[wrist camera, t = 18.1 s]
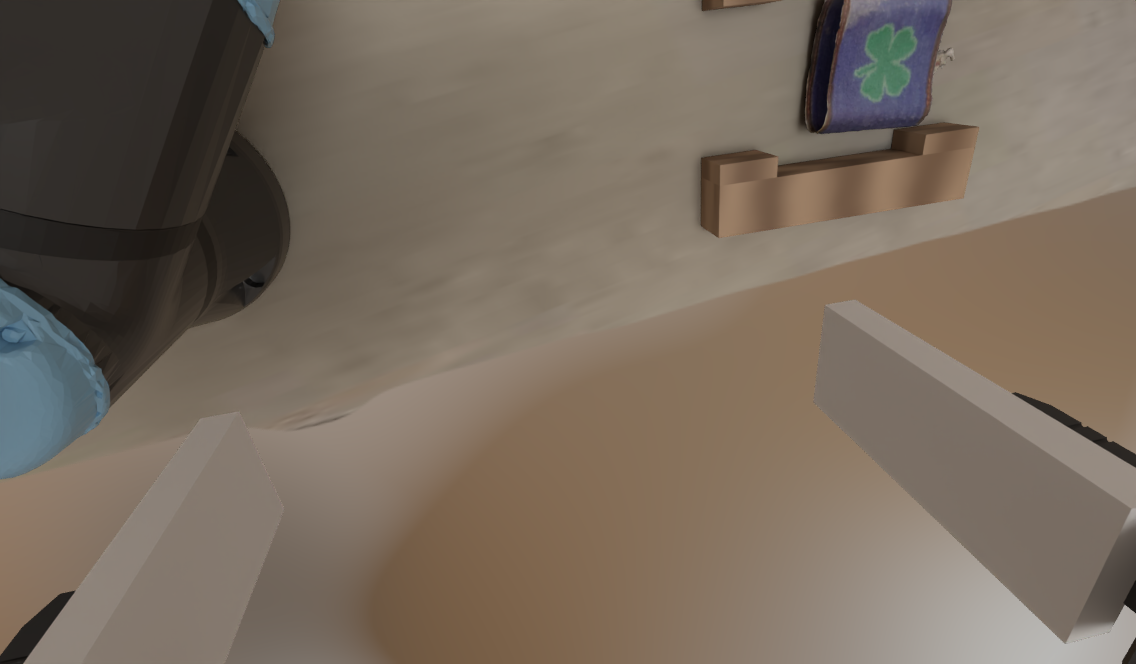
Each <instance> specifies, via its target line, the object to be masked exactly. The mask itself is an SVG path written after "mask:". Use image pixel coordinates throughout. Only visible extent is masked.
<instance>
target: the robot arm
mask: <svg viewBox="0 0 1136 664" xmlns="http://www.w3.org/2000/svg"><path fill="white" fill-rule="evenodd" d="M279 2H280V0H0V479H6V478H13V477H16V476H19V475H22V474H24V473H27V472H29V471H31V470H33V469H35V468H37V467H39V466H41V465H43V464H44V463H46V462H47V461H49V460H50V459H52V458H53V457H54V456H56V455H57V454H58V453H59V452H61V451H62V450H63V449H64V448H66V447H67V446H68V445H69V444H71V443H72V442H73V441H74V440H76V439H77V438H79V437H80V436H82V435H84V434H87V433H88V432H89V431H90V430H92V429H94V428H95V427H96V426H98V425H99V423H100V421H101V419H102V418H103V417H104V416H105V415H106V414H107V412H108V410H109V408H110V407H111V406H112V405H113V404H114V403H115V402H116V401H117V400H118V399H119V398H120V397H121V396H122V395H123V394H124V393H125V392H126V391H127V390H128V389H129V388H130V387H131V386H132V385H133V384H134V383H135V382H136V381H137V380H138V379H139V378H140V377H141V376H142V375H143V374H144V373H145V372H146V371H147V369H148V368H149V367H150V366H151V365H152V364H153V363H154V362H155V361H156V360H157V359H158V358H159V357H160V356H161V355H162V354H163V353H164V352H165V351H166V350H167V349H168V348H169V347H170V346H171V345H172V344H173V343H174V342H175V341H176V340H177V339H178V338H179V337H180V336H181V335H182V334H183V333H184V332H185V331H186V330H187V329H188V328H192V327H195V326H199V325H203V324H207V323H211V322H214V321H218V320H221V319H224V318H226V317H229V316H231V315H233V314H235V313H237V312H239V311H240V310H242V309H244V308H245V307H247V306H248V305H250V304H251V303H252V302H254V301H255V300H256V299H257V298H258V297H259V296H260V295H261V294H262V293H263V292H264V291H265V290H266V288H267V287H268V286H269V285H270V284H271V283H272V281H273V280H274V279H275V277H276V276H277V274H278V273H279V271H280V269H281V267H282V265H283V263H284V261H285V258H286V255H287V251H288V247H289V240H290V221H289V214H288V209H287V205H286V202H285V198H284V196H283V193H282V191H281V188H280V186H279V184H278V182H277V180H276V178H275V176H274V175H273V173H272V171H271V170H270V168H269V167H268V165H267V164H266V163H265V161H264V160H263V159H262V157H261V156H260V155H259V154H258V153H257V151H256V150H255V149H254V148H253V147H252V146H251V145H250V144H249V143H248V142H247V141H246V140H245V139H244V138H243V137H241V136H240V135H239V134H238V133H237V132H235V128H236V126H237V123H238V120H239V117H240V114H241V112H242V109H243V106H244V103H245V100H246V98H247V95H248V92H249V89H250V86H251V84H252V81H253V78H254V75H255V72H256V70H257V67H258V64H259V61H260V58H261V56H262V53H263V50H264V47H267V48H271V46H272V45H273V42H274V37H275V34H274V30H273V27H272V25H273V22H274V18H275V15H276V12H277V8H278V5H279ZM814 403H815V404H816V405H817V406H818V407H819V408H820V409H821V410H822V411H823V412H824V413H825V414H826V415H827V416H828V417H829V418H830V419H831V420H832V421H834V423H836V424H837V425H838V426H839V427H840V428H841V429H842V430H843V431H844V432H845V433H846V434H847V435H848V436H849V437H850V438H851V439H852V440H853V441H855V443H856V444H857V445H858V446H860V447H861V448H862V449H863V450H864V451H865V452H866V453H867V454H868V455H869V456H870V457H871V458H872V459H873V460H874V461H875V462H876V463H877V464H878V465H879V466H880V467H881V468H882V469H883V470H885V471H886V472H887V473H888V474H889V475H890V476H891V477H892V478H893V479H894V480H895V481H896V482H897V483H898V484H899V485H900V486H901V487H902V488H903V489H904V490H905V491H906V492H907V493H908V494H910V495H911V496H912V497H913V498H914V499H915V500H916V501H917V502H918V503H919V504H920V505H921V506H922V507H923V508H924V509H925V510H926V511H927V512H928V513H929V514H930V515H931V516H933V517H934V518H935V519H936V520H937V521H938V522H939V523H940V524H941V525H942V526H943V527H944V528H945V529H946V530H947V531H948V532H949V533H950V534H951V535H952V536H953V537H954V538H955V539H957V541H959V542H960V543H961V544H962V545H963V546H964V547H965V548H966V549H967V550H968V551H969V552H970V553H971V554H972V555H973V556H974V557H975V558H976V559H977V560H978V561H979V562H980V563H981V564H982V565H984V566H985V567H986V568H987V569H988V570H989V571H990V572H991V573H992V574H993V575H994V576H995V577H996V578H997V579H998V580H999V581H1000V582H1001V583H1002V584H1003V585H1004V586H1005V587H1007V588H1008V589H1009V590H1010V591H1011V592H1012V593H1013V594H1014V595H1015V596H1016V597H1017V598H1018V599H1019V600H1020V601H1021V602H1022V603H1023V604H1024V605H1025V606H1026V607H1027V608H1028V609H1029V610H1030V611H1031V612H1033V613H1034V614H1035V615H1036V616H1037V617H1038V618H1039V619H1040V620H1041V621H1042V622H1043V623H1044V624H1045V625H1046V626H1047V627H1048V628H1049V629H1050V630H1051V631H1052V632H1053V633H1055V635H1057V636H1058V637H1059V638H1060V639H1061V640H1062V641H1063V642H1064V643H1065V644H1067V643H1071V642H1075V641H1078V640H1082V639H1086V638H1090V637H1093V636H1097V635H1101V634H1105V633H1108V632H1110V631H1111V629H1112V627H1113V625H1114V623H1115V621H1116V619H1117V618H1118V616H1119V614H1120V612H1121V610H1122V608H1123V606H1124V605H1126V606H1127V607H1129V608H1130V609H1131V610H1132V611H1134V612H1135V613H1136V454H1134V453H1133V452H1131V451H1129V450H1127V449H1125V448H1124V447H1122V446H1120V445H1119V444H1117V443H1115V442H1108V441H1107V437H1105V436H1103V435H1101V434H1100V433H1098V432H1096V431H1094V430H1093V429H1091V428H1089V427H1088V426H1087V427H1083V426H1082V425H1081V422H1079V421H1077V420H1076V419H1074V418H1072V417H1070V416H1069V415H1067V414H1065V413H1064V412H1062V411H1060V410H1058V409H1056V408H1055V407H1053V406H1051V405H1049V404H1046V403H1043V402H1041V401H1038V400H1035V399H1032V398H1029V397H1027V396H1024V395H1022V394H1019V393H1016V392H1015V393H1010V392H1008V391H1007V390H1005V389H1003V388H1002V387H1000V386H998V385H997V384H995V383H993V382H992V381H990V380H988V379H987V378H985V377H983V376H982V375H980V374H978V373H976V372H975V371H973V370H972V369H970V368H968V367H967V366H965V365H963V364H962V363H960V362H958V361H957V360H955V359H953V358H951V357H950V356H948V355H947V354H945V353H943V352H942V351H940V350H938V349H937V348H935V347H933V346H931V345H930V344H928V343H927V342H925V341H923V340H922V339H920V338H918V337H917V336H915V335H913V334H912V333H910V332H908V331H906V330H905V329H903V328H902V327H900V326H898V325H896V324H895V323H893V322H892V321H890V320H888V319H886V318H885V317H883V316H882V315H880V314H878V313H877V312H875V311H873V310H872V309H870V308H868V307H867V306H865V305H863V304H861V303H860V302H858V301H857V300H851V301H845V302H839V303H834V304H828V305H825V309H824V318H823V327H822V334H821V343H820V352H819V360H818V368H817V376H816V385H815V393H814ZM283 511H284V507H283V505H282V503H281V501H280V498H279V496H278V494H277V492H276V490H275V488H274V485H273V483H272V481H271V479H270V477H269V475H268V473H267V470H266V468H265V466H264V464H263V462H262V460H261V457H260V455H259V453H258V451H257V449H256V446H255V444H254V442H253V440H252V438H251V436H250V433H249V431H248V429H247V427H246V425H245V423H244V420H243V418H242V416H241V414H240V412H239V411H238V412H232V413H227V414H221V415H216V416H210V417H205V418H200V420H199V421H198V422H197V424H196V425H195V427H194V428H193V429H192V431H191V432H190V433H189V435H188V436H187V438H186V439H185V440H184V442H183V443H182V445H181V446H180V447H179V449H178V450H177V452H176V453H175V454H174V456H173V457H172V458H171V460H170V461H169V463H168V464H167V465H166V467H165V468H164V469H163V471H162V472H161V474H160V475H159V476H158V478H157V479H156V481H155V482H154V483H153V485H152V486H151V487H150V489H149V490H148V492H147V493H146V494H145V496H144V497H143V499H142V500H141V501H140V503H139V504H138V505H137V507H136V508H135V510H134V511H133V513H132V514H131V515H130V517H129V518H128V519H127V521H126V522H125V524H124V525H123V526H122V528H121V529H120V531H119V532H118V533H117V535H116V536H115V538H114V539H113V540H112V541H111V543H110V544H109V546H108V547H107V548H106V550H105V551H104V553H103V554H102V555H101V557H100V558H99V560H98V561H97V562H96V564H95V565H94V566H93V568H92V569H91V571H90V572H89V573H88V575H87V576H86V577H85V579H84V580H83V582H82V583H81V584H80V586H79V587H78V589H77V590H76V591H72V592H67V593H62V594H60V595H58V596H57V597H56V598H55V599H54V600H52V601H51V602H50V603H49V604H48V605H47V606H46V607H45V608H43V609H42V610H41V611H40V612H39V613H38V614H37V615H36V616H34V617H33V618H32V619H31V620H30V621H29V622H28V623H26V624H25V625H24V626H23V627H22V628H21V630H20V631H19V632H18V634H17V635H16V636H15V637H14V639H13V640H12V641H11V642H10V644H9V645H8V646H7V648H6V649H5V650H4V652H3V653H2V654H1V656H0V664H224V663H225V661H226V658H227V656H228V653H229V650H230V648H231V645H232V643H233V640H234V637H235V635H236V632H237V630H238V627H239V625H240V622H241V619H242V617H243V614H244V612H245V609H246V607H247V604H248V602H249V599H250V596H251V594H252V591H253V589H254V586H255V584H256V581H257V578H258V576H259V573H260V571H261V568H262V565H263V563H264V560H265V557H266V555H267V553H268V550H269V547H270V545H271V542H272V540H273V537H274V534H275V532H276V529H277V527H278V524H279V522H280V519H281V516H282V514H283ZM1122 664H1136V638H1135V640H1134V641H1133V643H1132V645H1131V647H1130V648H1129V650H1128V652H1127V654H1126V655H1125V657H1124V659H1123V661H1122Z"/></svg>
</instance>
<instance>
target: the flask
mask: <svg viewBox="0 0 1136 664" xmlns="http://www.w3.org/2000/svg"><path fill="white" fill-rule="evenodd" d="M951 6H952V0H825V1H824V4H823V7H822V11H821V14H820V15H819V18H818V22H817V30H816V34H815V40H814V44H813V51H812V55H811V67H810V69H809V76H808V79H807V86H806V87H807V93H806V106H805V122H806V125H807V129H808V130H809V131H810V133H814V132H816V133H817V134H818V133H820V134H825V133H827V134H829V133H840V132H847V131H860V130H869V129H885V128H897V127H910V126H917V125H919V123H920V122H921V121H923V120H924V118H925V116H927V115H928V113H929V111H930V107H931V104H932V100H933V98H932V95H931V94H932V81H933V75H934V74H935V73H936V72H937V69H938V68H939V67H941V68H942V66H944V65H946V58H947V57H950V59H951V61H953V60H954V58H955V57H954V55H953V51H954V49H952V48H949V49H947V51H944V50H940V51H938V49H939V45H940V42H941V38H942V35H943V31H944V28H945V26H946V22H947V18H948V16H949V13H950V10H951Z"/></svg>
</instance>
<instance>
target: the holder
mask: <svg viewBox="0 0 1136 664" xmlns="http://www.w3.org/2000/svg"><path fill="white" fill-rule="evenodd" d="M776 1H781V0H702V11H706V10H715V9H724V8H732V7H741V6H750V5H758V4H765V3H771V2H776ZM978 131H979V127H976V126H968V125H960V124H952V123H937V124H930V125H923V126H916V127H910V128H903V129H896V130H894V133H893V139H892V146H891V149H886V150H880V151H873V152H866V153H860V154H853V155H846V156H840V157H833V158H826V159H820V160H813V161H806V162H800V163H793V164H786V165H780V166H778V156H774V155H771V154H768V153H764V152H761V151H757V150H752V151H745V152H738V153H731V154H724V155H717V156H711V157H704V158H701V226H702V227H703V228H705V229H706V230H708V231H709V232H711V233H712V234H714V235H715V236H717V237H718V238H722V237H728V236H734V235H741V234H747V233H753V232H759V231H765V230H771V229H777V228H784V227H790V226H796V225H802V224H808V223H814V222H820V221H826V220H833V219H839V218H845V217H851V216H857V215H863V214H869V213H875V212H882V211H888V210H894V209H900V208H906V207H912V206H918V205H924V204H931V203H937V202H943V201H949V200H955V199H961V198H964V194H965V189H966V185H967V180H968V176H969V171H970V167H971V162H972V158H973V153H974V149H975V144H976V140H977V135H978Z"/></svg>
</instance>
